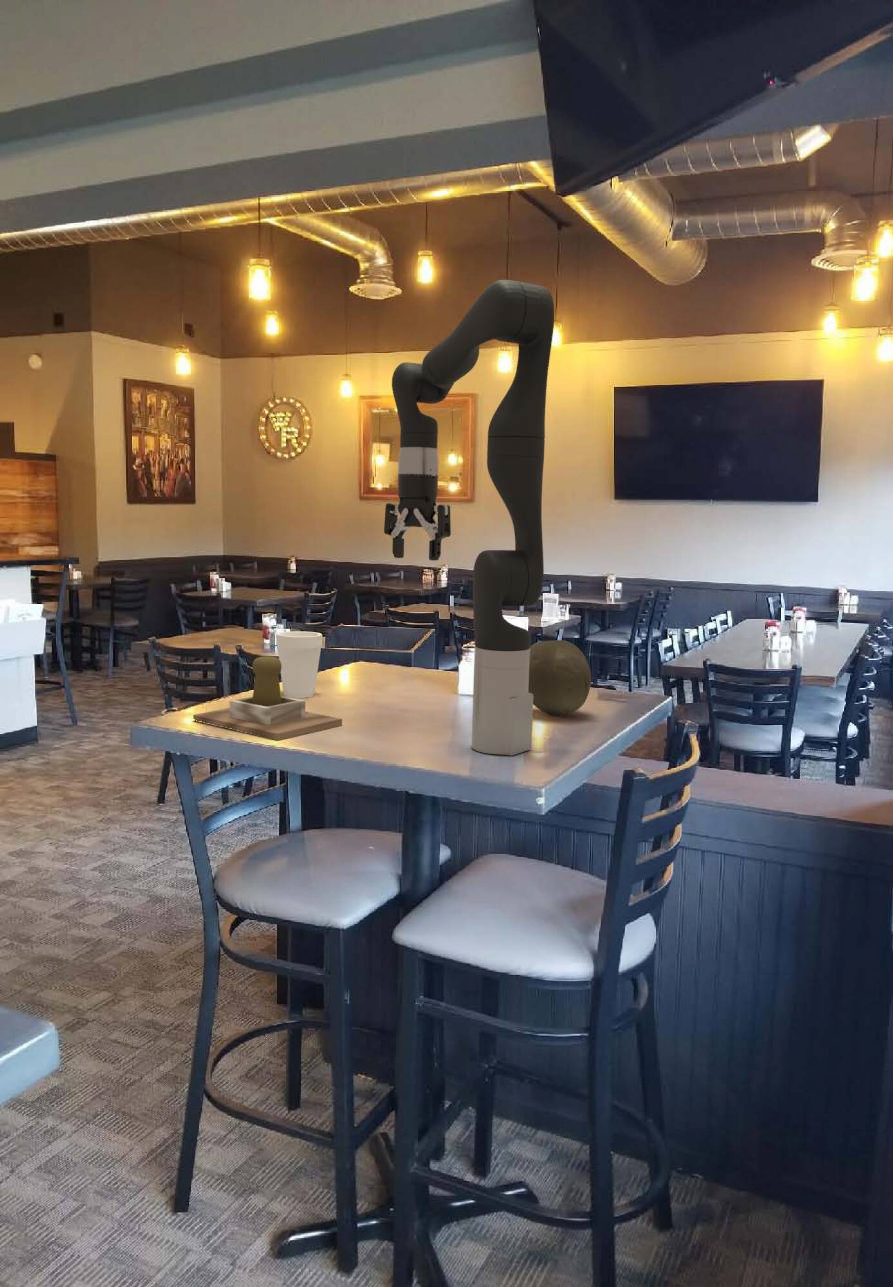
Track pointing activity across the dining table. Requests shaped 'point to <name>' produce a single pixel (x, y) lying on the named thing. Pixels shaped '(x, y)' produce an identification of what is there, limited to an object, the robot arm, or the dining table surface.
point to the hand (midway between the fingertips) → (416, 559)
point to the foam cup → (299, 662)
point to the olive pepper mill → (267, 681)
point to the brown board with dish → (269, 718)
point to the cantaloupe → (558, 677)
